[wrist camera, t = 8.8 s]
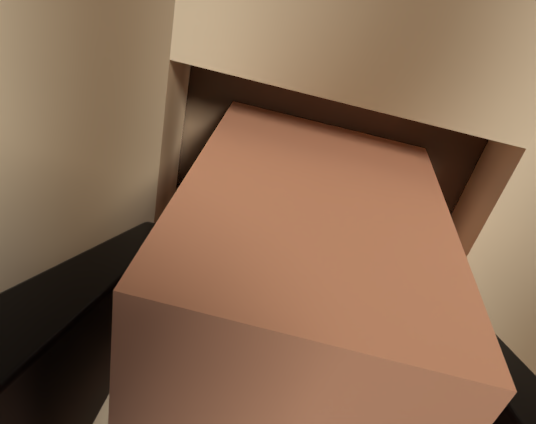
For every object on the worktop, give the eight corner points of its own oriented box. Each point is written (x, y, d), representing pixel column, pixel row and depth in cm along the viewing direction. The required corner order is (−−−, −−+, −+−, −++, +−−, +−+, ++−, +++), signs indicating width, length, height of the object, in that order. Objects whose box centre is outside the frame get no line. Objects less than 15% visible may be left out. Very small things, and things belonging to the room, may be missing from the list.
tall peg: (208, 251, 12) (105, 499, 7) (234, 99, 10) (112, 290, 5) (364, 290, 12) (380, 569, 7) (424, 146, 10) (517, 392, 5)
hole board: (29, 386, 15) (0, 428, 14) (-61, -531, 6) (-173, -659, 5) (447, 492, 15) (457, 543, 14) (1042, -259, 6) (1241, -312, 5)
